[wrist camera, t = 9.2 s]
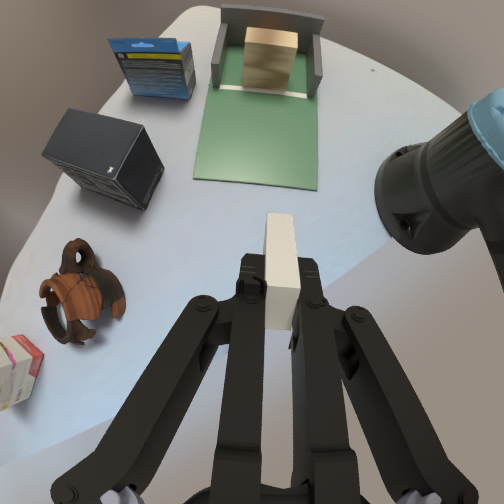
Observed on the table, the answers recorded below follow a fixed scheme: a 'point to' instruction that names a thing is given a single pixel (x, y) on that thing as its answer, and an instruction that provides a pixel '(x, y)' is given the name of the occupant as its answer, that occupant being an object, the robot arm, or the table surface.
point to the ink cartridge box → (17, 369)
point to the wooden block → (268, 58)
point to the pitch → (262, 106)
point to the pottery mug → (79, 294)
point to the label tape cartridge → (156, 66)
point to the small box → (106, 156)
